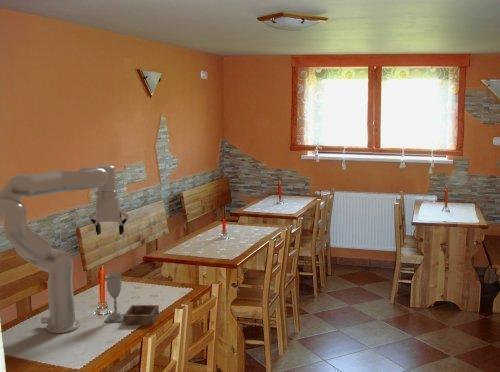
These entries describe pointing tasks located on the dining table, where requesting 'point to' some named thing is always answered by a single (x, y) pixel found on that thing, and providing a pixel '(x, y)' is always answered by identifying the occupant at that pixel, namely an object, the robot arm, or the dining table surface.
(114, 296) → the chalice
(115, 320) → the mat
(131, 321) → the wooden tray
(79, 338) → the dining table surface
